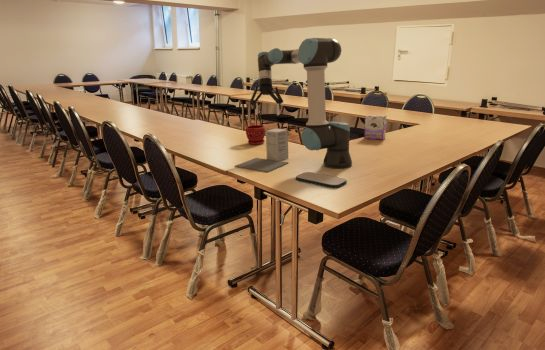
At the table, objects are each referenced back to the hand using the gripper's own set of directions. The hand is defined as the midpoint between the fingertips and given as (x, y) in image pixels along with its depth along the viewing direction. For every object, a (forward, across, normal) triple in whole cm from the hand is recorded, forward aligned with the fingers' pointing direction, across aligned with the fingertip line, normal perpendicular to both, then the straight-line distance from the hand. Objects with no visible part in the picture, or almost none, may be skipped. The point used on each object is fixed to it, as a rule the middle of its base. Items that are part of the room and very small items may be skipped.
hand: (267, 114), depth 224 cm
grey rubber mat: (+30, +10, +11) cm, 34 cm away
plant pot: (+12, -6, -40) cm, 42 cm away
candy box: (+13, -86, -15) cm, 88 cm away
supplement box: (+26, -3, +3) cm, 27 cm away
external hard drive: (+42, -6, +49) cm, 65 cm away
